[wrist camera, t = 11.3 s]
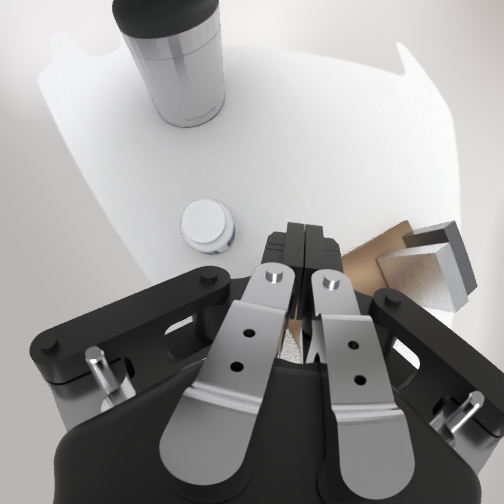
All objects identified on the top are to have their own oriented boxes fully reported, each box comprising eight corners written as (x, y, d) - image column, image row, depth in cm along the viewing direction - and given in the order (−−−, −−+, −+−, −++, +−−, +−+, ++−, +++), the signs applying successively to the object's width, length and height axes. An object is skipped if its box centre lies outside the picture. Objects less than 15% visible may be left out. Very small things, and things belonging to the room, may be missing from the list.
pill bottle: (217, 201, 35) (210, 179, 26) (244, 236, 35) (245, 225, 26) (181, 229, 34) (163, 215, 26) (207, 264, 34) (197, 262, 25)
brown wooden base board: (272, 293, 34) (273, 294, 33) (403, 221, 36) (408, 219, 34) (310, 371, 34) (313, 375, 33) (432, 293, 35) (438, 293, 34)
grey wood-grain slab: (401, 237, 34) (443, 228, 25) (412, 230, 35) (454, 220, 26) (423, 291, 34) (467, 295, 25) (433, 284, 34) (477, 286, 25)
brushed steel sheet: (376, 258, 33) (435, 252, 21) (388, 250, 34) (449, 242, 22) (403, 324, 33) (463, 342, 21) (414, 316, 33) (476, 330, 21)
